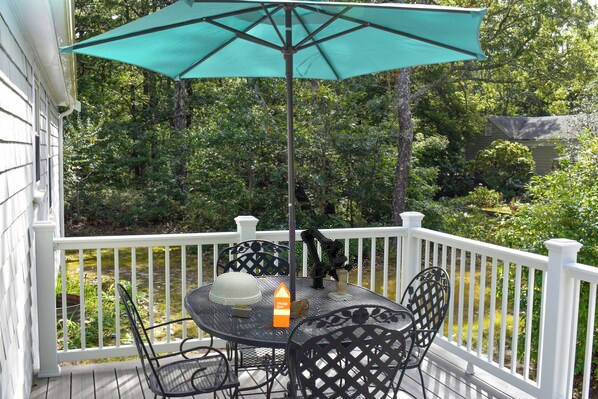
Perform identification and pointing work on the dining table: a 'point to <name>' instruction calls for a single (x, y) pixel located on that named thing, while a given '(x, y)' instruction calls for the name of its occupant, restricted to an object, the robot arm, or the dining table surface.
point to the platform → (241, 310)
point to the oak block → (341, 281)
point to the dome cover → (235, 289)
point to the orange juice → (281, 306)
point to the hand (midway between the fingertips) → (342, 281)
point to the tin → (299, 308)
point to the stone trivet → (339, 295)
